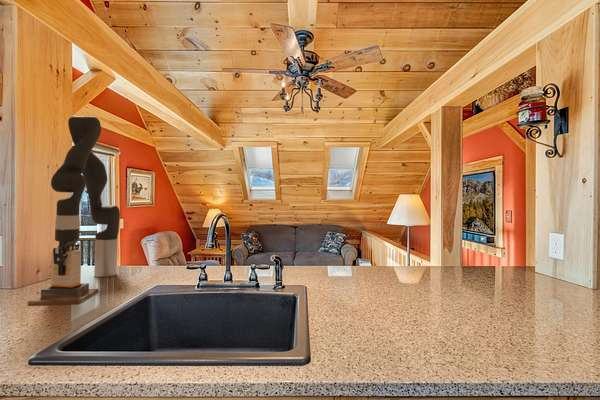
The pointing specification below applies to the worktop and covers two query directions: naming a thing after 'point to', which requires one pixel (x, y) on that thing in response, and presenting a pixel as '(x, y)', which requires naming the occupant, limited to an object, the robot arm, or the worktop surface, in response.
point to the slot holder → (63, 295)
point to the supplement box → (68, 270)
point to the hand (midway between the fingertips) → (66, 273)
